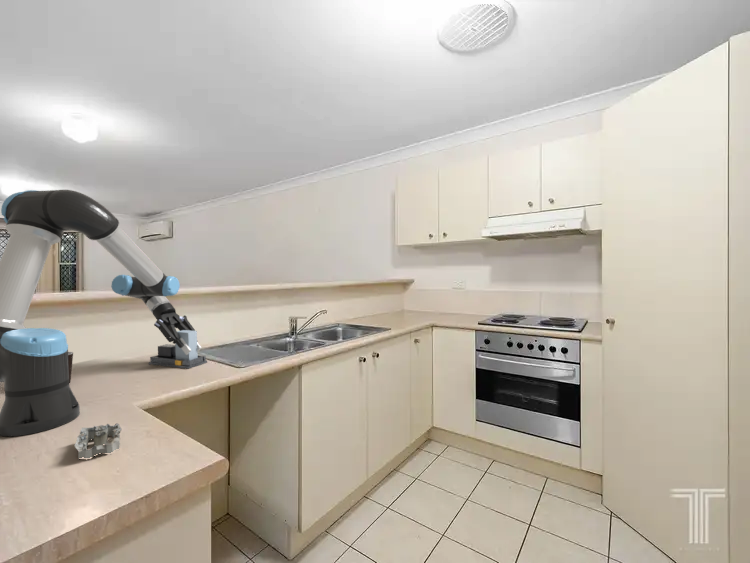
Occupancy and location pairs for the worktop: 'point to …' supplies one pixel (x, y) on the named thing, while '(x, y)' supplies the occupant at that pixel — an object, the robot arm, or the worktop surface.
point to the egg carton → (98, 440)
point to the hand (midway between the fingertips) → (193, 351)
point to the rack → (174, 358)
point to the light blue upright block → (190, 340)
